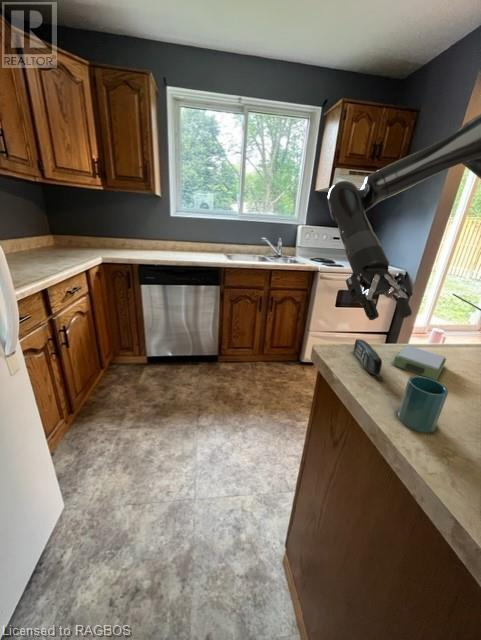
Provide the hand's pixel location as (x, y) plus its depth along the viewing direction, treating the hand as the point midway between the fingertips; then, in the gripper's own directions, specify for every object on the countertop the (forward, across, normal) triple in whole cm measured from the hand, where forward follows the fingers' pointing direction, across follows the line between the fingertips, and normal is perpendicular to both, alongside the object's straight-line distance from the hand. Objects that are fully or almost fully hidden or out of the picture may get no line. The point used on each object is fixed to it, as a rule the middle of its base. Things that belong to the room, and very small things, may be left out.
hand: (391, 317), depth 57 cm
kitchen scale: (+8, +20, +16) cm, 27 cm away
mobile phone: (+6, +6, +19) cm, 20 cm away
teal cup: (+20, 0, +4) cm, 21 cm away
